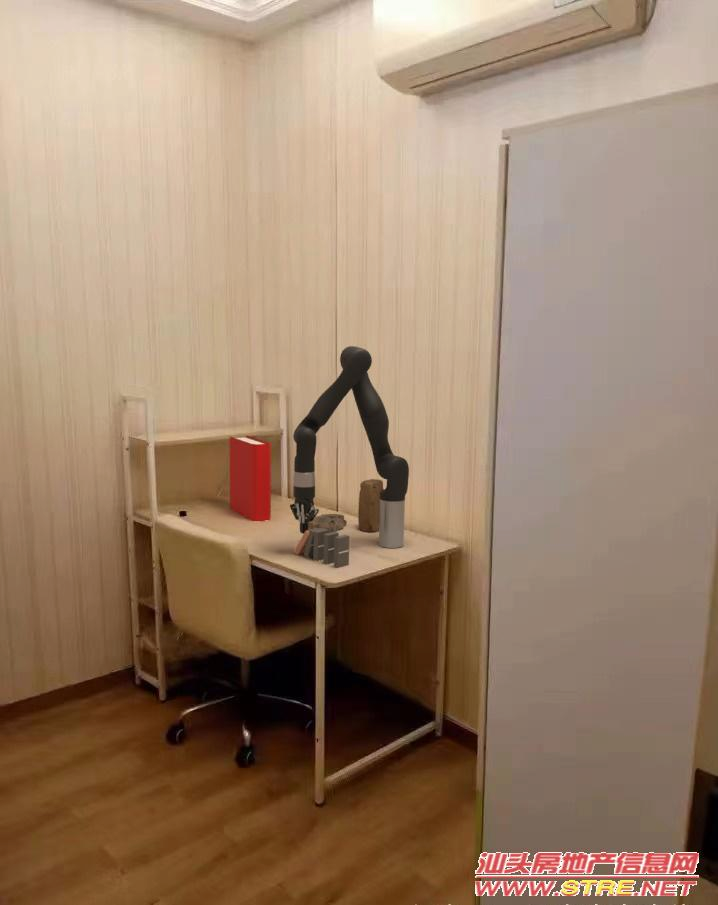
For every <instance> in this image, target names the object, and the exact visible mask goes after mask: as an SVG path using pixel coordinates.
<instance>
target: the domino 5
mask: <svg viewBox="0 0 718 905" xmlns="http://www.w3.org/2000/svg"><path fill="white" fill-rule="evenodd" d="M349 560H350V535H349V534H342V535H339V536H337V537H334V563H333V567H335V568H339V567H340V568H342V567H345V566H346V567H347V566H349V565H350V564H349V563H350V561H349Z"/></svg>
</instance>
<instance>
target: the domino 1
mask: <svg viewBox="0 0 718 905" xmlns="http://www.w3.org/2000/svg"><path fill="white" fill-rule="evenodd" d="M315 529H316V528H315ZM311 530H312V529H311ZM309 532H310V530H306V531H305V533H304V534H303V533H302V537H301V538H300V540H299V542H298V544H297V545H296V547H295V549H294V552H295V554H296V555H297V556H298V554H299V555H302V553H303V554H304V552H305V548H306V544H307V540H308V536H309Z"/></svg>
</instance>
